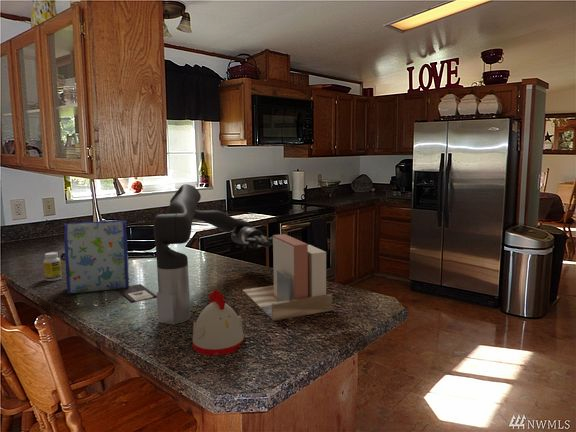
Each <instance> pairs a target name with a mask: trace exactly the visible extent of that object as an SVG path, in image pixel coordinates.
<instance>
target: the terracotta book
mask: <svg viewBox="0 0 576 432" xmlns="http://www.w3.org/2000/svg"><path fill="white" fill-rule="evenodd" d="M272 236H273V244H272V252H273V253H272V255H273V256H272V257H273V258H272V260H273V261H272V262H273V263H272V264H273V269H272V270H273V285H274V297H275V298H277V270H279V271H281V272H282V273H284V274H285V275H287V276H289V277H290V278H291V300H294V299H301V298H307V297H308V245H309V244H308V243H306V242H303V241H302V240H299V239H297V238H295V237H292V236H290V235H288V234H286V233H284V234H283V233H282V234H273V235H272Z"/></svg>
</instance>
